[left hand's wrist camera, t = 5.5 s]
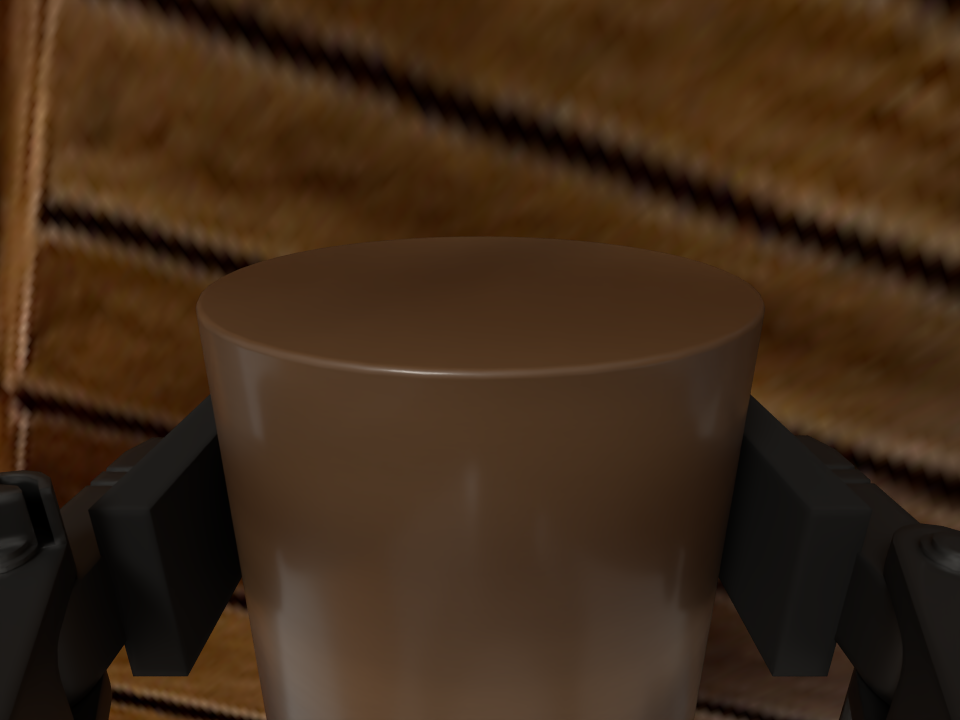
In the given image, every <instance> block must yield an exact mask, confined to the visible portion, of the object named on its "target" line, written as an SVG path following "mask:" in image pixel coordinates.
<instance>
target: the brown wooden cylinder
mask: <svg viewBox="0 0 960 720" xmlns="http://www.w3.org/2000/svg"><path fill="white" fill-rule="evenodd" d="M764 311H765V306H764V303H763V300H762V298H761V296H760V294H759V293H758V292H757V291H756V290H755V289H754V288H753V287H752V286H751V285H750V284H748V283H747V282H745V281H744V280H742V279H740V278H739V277H737V276H735V275H732V274H730V273H728V272H726V271H724V270H721V269H719V268H716V267H713V266H710V265H707V264H705V263H701V262H698V261H694V260H691V259H687V258H684V257H679V256H675V255H671V254H666V253H661V252H656V251H651V250H645V249H639V248H633V247H626V246H620V245H611V244H603V243H594V242H584V241H574V240H560V239H544V238H523V237H437V238H416V239H400V240H386V241H376V242H366V243H357V244H349V245H341V246H334V247H327V248H321V249H315V250H310V251H304V252H299V253H294V254H290V255H285V256H281V257H277V258H273V259H269V260H266V261H262V262H259V263H256V264H253V265H250V266H247V267H244V268H242V269H239V270H237V271H235V272H232V273H230V274H228V275H226V276H224V277H222V278H220V279H218V280H217V281H215V282H214V283H212V284H211V285H209V286H208V287H207V288H206V289H205V290H204V291H203V292H202V293H201V295H200V297H199V300H198V302H197V305H196V313H197V319H198V325H199V330H200V336H201V342H202V348H203V353H204V359H205V365H206V371H207V377H208V382H209V388H210V394H211V400H212V405H213V411H214V417H215V423H216V429H217V434H218V440H219V446H220V452H221V458H222V463H223V469H224V475H225V481H226V486H227V492H228V498H229V504H230V510H231V515H232V521H233V527H234V533H235V538H236V544H237V550H238V556H239V562H240V567H241V573H242V579H243V585H244V591H245V596H246V602H247V608H248V614H249V619H250V625H251V631H252V637H253V643H254V648H255V654H256V660H257V666H258V672H259V677H260V683H261V689H262V695H263V700H264V706H265V712H266V718H267V720H694V715H695V709H696V703H697V698H698V692H699V686H700V680H701V675H702V669H703V663H704V657H705V652H706V646H707V640H708V634H709V629H710V623H711V617H712V611H713V605H714V600H715V594H716V588H717V582H718V577H719V571H720V565H721V559H722V554H723V548H724V542H725V536H726V531H727V525H728V519H729V513H730V508H731V502H732V496H733V490H734V485H735V479H736V473H737V467H738V462H739V456H740V450H741V444H742V439H743V433H744V427H745V421H746V416H747V410H748V404H749V398H750V393H751V387H752V381H753V375H754V370H755V364H756V358H757V352H758V347H759V341H760V335H761V329H762V324H763V318H764Z"/></svg>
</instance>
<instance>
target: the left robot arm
mask: <svg viewBox="0 0 960 720" xmlns="http://www.w3.org/2000/svg"><path fill="white" fill-rule="evenodd" d="M241 577H242V573H241V567H240V562H239V556H238V550H237V544H236V538H235V533H234V527H233V521H232V515H231V510H230V504H229V498H228V492H227V486H226V481H225V475H224V469H223V463H222V458H221V452H220V446H219V440H218V434H217V429H216V423H215V417H214V411H213V405H212V400H211V394H210V395H209V396H208V397H207V398H206V399H205V400H204V401H203V402H201V403H200V404H199V405H198V406H197V407H196V408H195V409H194V410H193V411H192V412H191V413H190V414H189V415H188V416H187V417H186V418H185V419H183V420H182V421H181V422H180V423H179V424H178V425H177V426H176V427H175V428H174V429H173V430H172V431H171V432H170V433H169V434H168V435H167V436H165V437H164V438H151V439H149V440H147V441H145V442H143V443H141V444H140V445H138V446H136V447H134V448H132V449H130V450H128V451H126V452H125V453H123V454H122V455H121V456H120V457H119V458H118V459H117V460H115V461H114V462H113V463H112V464H111V465H110V466H109V467H108V468H107V471H106V472H102V473H101V474H100V475H98V476H97V477H96V478H95V479H94V480H93V481H92V482H91V486H86V487H85V488H84V489H83V490H81V491H80V492H79V493H78V494H77V495H76V496H75V497H73V498H72V499H71V500H70V501H69V502H68V503H67V504H65V505H64V506H63V507H62V508H61V509H59V506H58V502H57V499H56V495H55V492H54V489H53V485H52V482H51V478H50V477H48V476H46V475H45V474H43V473H41V472H35V471H25V470H21V471H11V472H2V473H0V720H108V719H109V713H110V706H111V700H112V692H111V685H110V681H109V677H108V674H107V668H108V667H109V666H110V664H111V663H112V661H113V660H114V658H115V657H116V656H117V654H118V653H119V651H120V650H121V648H122V647H123V646H124V644H125V648H126V652H127V655H128V659H129V663H130V666H131V670H132V674H133V676H188V675H189V673H190V671H191V669H192V667H193V666H194V664H195V662H196V660H197V658H198V656H199V655H200V653H201V651H202V649H203V647H204V645H205V644H206V642H207V640H208V638H209V636H210V634H211V633H212V631H213V629H214V627H215V625H216V623H217V622H218V620H219V618H220V616H221V614H222V612H223V611H224V609H225V607H226V605H227V603H228V601H229V599H230V598H231V596H232V594H233V592H234V590H235V588H236V587H237V585H238V583H239V581H240V579H241ZM719 579H720V580H721V582H722V584H723V586H724V588H725V590H726V591H727V593H728V595H729V597H730V599H731V601H732V602H733V604H734V606H735V608H736V610H737V612H738V613H739V615H740V617H741V619H742V621H743V623H744V624H745V626H746V628H747V630H748V632H749V634H750V635H751V637H752V639H753V641H754V643H755V645H756V646H757V648H758V650H759V652H760V654H761V656H762V657H763V659H764V661H765V663H766V665H767V667H768V668H769V670H770V672H771V674H772V676H827V675H828V672H829V668H830V664H831V661H832V657H833V653H834V650H835V646H836V642H837V643H838V645H839V646H840V647H841V649H842V650H843V652H844V653H845V654H846V656H847V657H848V659H849V660H850V662H851V663H852V664H853V666H854V670H853V674H852V677H851V681H850V684H849V687H848V691H847V694H846V698H845V701H844V705H843V708H842V711H841V715H840V718H839V720H960V531H958V530H954V529H951V528H947V527H944V526H937V525H929V524H921V523H919V522H918V521H917V520H916V519H914V518H913V517H912V516H911V515H910V514H909V513H908V512H906V511H905V510H904V509H903V508H902V507H901V506H900V505H898V504H897V503H896V502H895V501H894V500H893V499H892V498H890V497H889V496H888V495H887V494H886V493H885V492H883V491H882V490H881V489H880V488H879V487H878V486H877V485H875V484H871V483H870V479H869V478H867V477H866V476H865V475H864V474H863V473H862V472H861V471H859V470H858V469H855V468H854V465H853V464H851V463H850V462H849V461H848V460H847V459H846V458H845V457H843V456H842V455H841V454H840V453H839V452H838V451H837V450H835V449H833V448H831V447H829V446H827V445H825V444H823V443H821V442H820V441H818V440H816V439H814V438H812V437H810V436H794V435H793V434H792V433H791V432H790V431H789V430H788V429H787V428H785V427H784V426H783V425H782V424H781V423H780V422H779V421H778V420H777V419H776V418H775V417H774V416H773V415H772V414H771V413H770V412H768V411H767V410H766V409H765V408H764V407H763V406H762V405H761V404H760V403H759V402H758V401H757V400H756V399H755V398H754V397H753V396H752V395H750V398H749V404H748V410H747V416H746V421H745V427H744V433H743V439H742V444H741V450H740V456H739V462H738V467H737V473H736V479H735V485H734V490H733V496H732V502H731V508H730V513H729V519H728V525H727V531H726V536H725V542H724V548H723V554H722V559H721V565H720V571H719Z"/></svg>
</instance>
